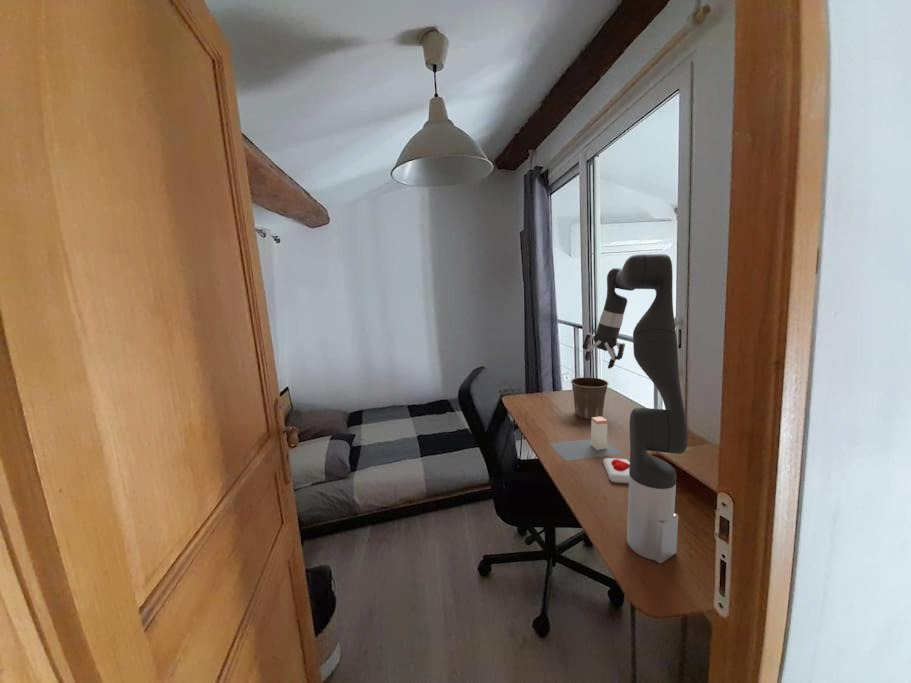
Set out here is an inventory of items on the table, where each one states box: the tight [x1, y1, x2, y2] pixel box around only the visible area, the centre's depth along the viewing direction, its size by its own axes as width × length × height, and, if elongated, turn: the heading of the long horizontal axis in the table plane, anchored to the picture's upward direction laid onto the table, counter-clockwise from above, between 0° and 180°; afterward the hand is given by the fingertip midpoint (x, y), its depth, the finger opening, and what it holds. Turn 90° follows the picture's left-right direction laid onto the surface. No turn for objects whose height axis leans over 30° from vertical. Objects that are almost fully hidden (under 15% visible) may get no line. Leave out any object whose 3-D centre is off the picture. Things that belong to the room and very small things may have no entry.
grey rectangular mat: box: [549, 438, 625, 462], centre depth 129 cm, size 22×14×1 cm, turn 99°
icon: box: [602, 457, 630, 484], centre depth 112 cm, size 12×4×10 cm
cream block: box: [590, 416, 609, 450], centre depth 128 cm, size 4×4×11 cm
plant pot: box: [570, 376, 609, 420], centre depth 161 cm, size 16×16×16 cm
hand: (598, 364), depth 132 cm, fingers open, 8 cm apart
